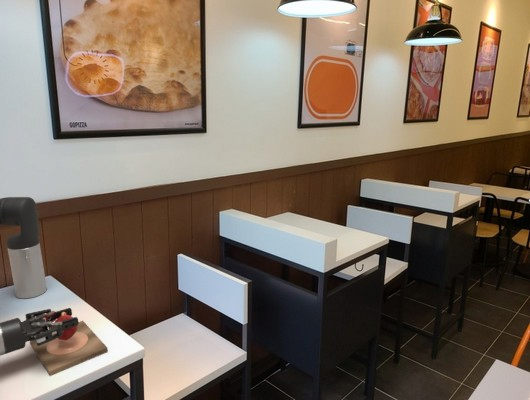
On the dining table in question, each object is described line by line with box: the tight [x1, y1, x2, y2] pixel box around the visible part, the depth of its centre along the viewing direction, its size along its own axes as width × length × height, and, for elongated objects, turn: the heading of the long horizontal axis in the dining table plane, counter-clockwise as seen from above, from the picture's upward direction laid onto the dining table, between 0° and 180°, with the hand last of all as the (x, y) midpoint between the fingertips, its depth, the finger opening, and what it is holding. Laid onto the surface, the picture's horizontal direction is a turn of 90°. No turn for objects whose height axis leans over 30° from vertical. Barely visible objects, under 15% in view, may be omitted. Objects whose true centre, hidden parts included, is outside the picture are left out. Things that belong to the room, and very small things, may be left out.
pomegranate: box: [53, 312, 77, 340], centre depth 108 cm, size 6×6×8 cm
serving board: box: [29, 320, 109, 377], centre depth 110 cm, size 18×14×1 cm
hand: (74, 316), depth 109 cm, fingers closed on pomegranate, 5 cm apart
